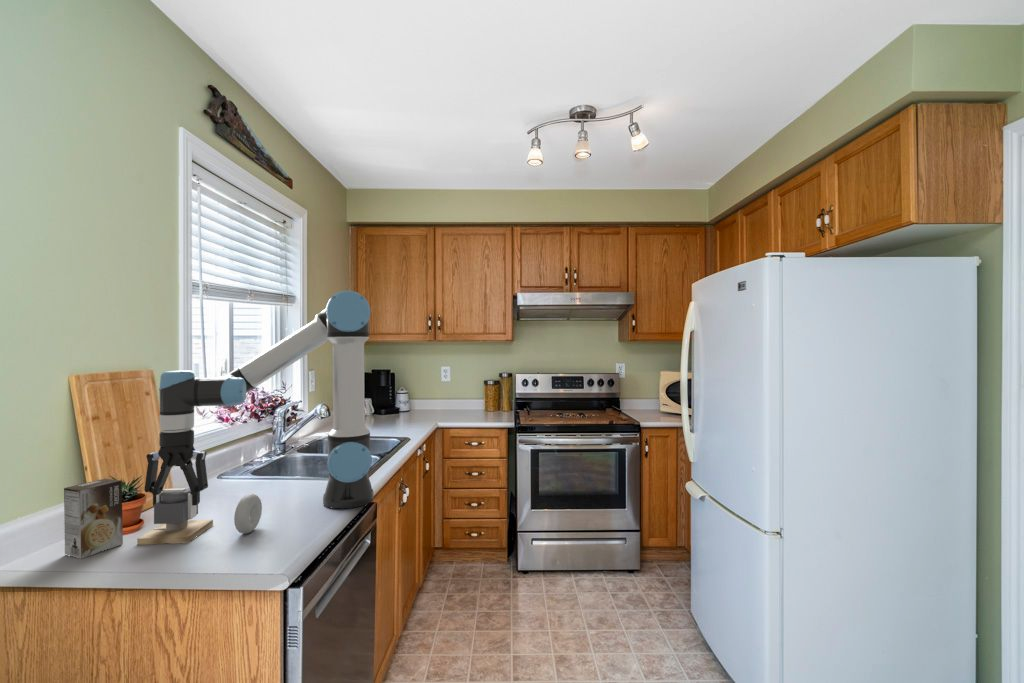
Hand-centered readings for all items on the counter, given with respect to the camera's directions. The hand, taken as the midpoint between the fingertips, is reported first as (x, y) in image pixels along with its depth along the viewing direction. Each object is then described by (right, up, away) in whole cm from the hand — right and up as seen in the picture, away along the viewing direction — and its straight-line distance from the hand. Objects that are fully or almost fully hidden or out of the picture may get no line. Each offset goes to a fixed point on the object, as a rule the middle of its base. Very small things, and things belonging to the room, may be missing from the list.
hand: (176, 517), depth 129 cm
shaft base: (0, -4, 0) cm, 4 cm away
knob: (0, 0, 0) cm, 0 cm away
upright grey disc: (+18, -5, +1) cm, 19 cm away
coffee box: (-13, -5, -10) cm, 17 cm away
